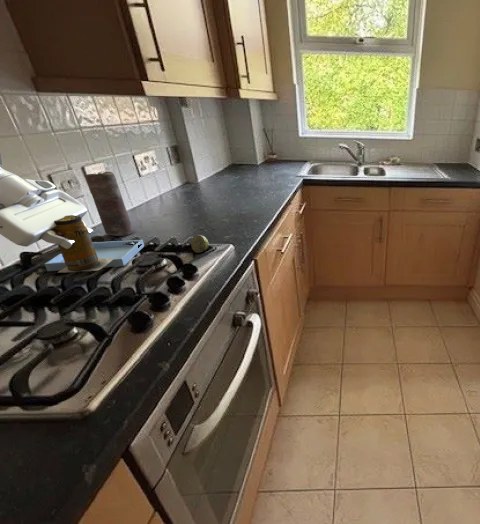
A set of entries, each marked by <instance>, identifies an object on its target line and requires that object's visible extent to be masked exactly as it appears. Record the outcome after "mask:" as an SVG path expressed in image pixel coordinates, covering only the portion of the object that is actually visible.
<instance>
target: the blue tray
mask: <svg viewBox="0 0 480 524" xmlns="http://www.w3.org/2000/svg"><path fill="white" fill-rule="evenodd" d="M133 241H134V242H138V243H136V244H133V245H121V244H124V243H128V242H133ZM92 243H93V246H94V248H95V251H96V254H97V257H98V259H101V258H114V259H113V260H112V261H110V262H109V264H107V265H106V266H104V267H103V268H115V267H117V268H118V267H125V266H126V265H127V264H128V263H129V262H130V261H131V260H132V259H133V258H134V257H135V256H136V255H138V253H139V252H140V251H141V250H142V249H143V248H144V247H145V243H144V239H135V240H134V239H132V240H130V239H129V240H112V241H95V242H93V241H92ZM140 244H142V245H141V246H140V247H139V248H138V245H140ZM44 267H45V269H46V272H56V271H58V272H59V271H60V270H62V269H64V268H65V267H67V265H66V264H65V261H64V259H63V257H62V254H61V252H60V253H59V254H57V255H56V256H54V257H52V258H51V259H50V260H48V261H46V262H45V263H44Z"/></svg>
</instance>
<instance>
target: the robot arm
mask: <svg viewBox="0 0 480 524" xmlns="http://www.w3.org/2000/svg"><path fill="white" fill-rule="evenodd" d="M2 165H3V161H2V155H1V154H0V235H1V236H2V237H4V238H5V239H6V240H8V241H10V242H11V243H12V244H15V245H17V246H20V247H29V246H31V245H33V244H35V243H37V242H39V241H41V240H42V241H44V242H46V243H48V244H52V245H57V246H58V245H60V246H62V247H64V248H66V249H69V248H70V247H72V246H73V245H74V244H75V241H74V240H71V239H70V238H69V237H67V238H64V237H61V236H58V235H55V234H56V233H55V232H54V231H55V229H53V228H55V227H56V224H55V223H54V221H55V220H59V219H61V218H63V217H65V216H68V215H77V216H80V217H81V218H82V222H83V223H84V226H85V227H87V229H88V232H89V234H90V236H92V235H93V233H94V229H92V228H90V227H89V226H88V225H87V224H86V222H85V221H84V220H83V217H84V216H85V215H86V214H87V213H88V209H87V206H85V204H83V203H82V202H80V201H79V200H77V199H76V198H75V197H73V196H71V195H70V194H68V193H66V192H64V191H62V190H60V189H56V188H57V187H56V185H55V184H54V183H53V182H51V181H49V180H37V179H36V180H35V179H29V178H22V177H21V176H19V175H17V174H15V173H13V172H11V171H8V170H6V169H4V168H2V167H1V166H2Z"/></svg>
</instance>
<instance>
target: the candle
mask: <svg viewBox="0 0 480 524" xmlns="http://www.w3.org/2000/svg"><path fill="white" fill-rule="evenodd" d="M84 178H85V180H86V183H87V186H88V189H89V191H90V194H91V196H92V199H93V202H94V204H95V208H96V209H97V213H98V216H99V219H100V222H101V225H102V227H103V230H104V232H105V234H107V235H109V236H115V237H116V236H119V237H125V236H126V237H127V236H129V235H131V234H132V233H134V229H133V226H132V222H131V220H130V217H129V216H130V215H129V213H128V210H127V208H126V205H125V202H124V199H123V196H122V192H121V190H120V187H119V184H118V181H117V178H116V175H115V173H114V172H113V171H104V172H102V173H100V172H99V173H88V174H85V175H84Z"/></svg>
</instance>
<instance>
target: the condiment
mask: <svg viewBox="0 0 480 524" xmlns="http://www.w3.org/2000/svg"><path fill="white" fill-rule="evenodd" d="M82 220H83V217H82V218H81V217H80V216H77V215H68V216H65V217H63V218H61V219H59V220H55V221H54V223H55V224H56V227H55V228H53V229H55V231H54V232H55V233H56V234H55V235H58V236H61V237H64V238H67V237H69V238H70V239H71V240H74V241H75V244H74V245H73V246H72V247H70V248H69V249H66V248H64V247H62V246H60V245H57V246H58V250H59V252H60V253H61V254H62V257H63V259H64V261H65V264H66V265H67V267H65V268H64V269H62V270H59V271H58V272H57V274H58V273H77V272H78V273H80V272H92V271H99V270H101V269H103V268H105V267H104V266H106V265H107V264H109V262H110V261H112V260H113V259H114V258H101V259H98V257H97V254H96V251H95V248H94V246H93V240H92V237H91V235H90V234H89V232H88V229H87V227H88V226H87V227H85V226H84V223H83V222H82Z"/></svg>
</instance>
